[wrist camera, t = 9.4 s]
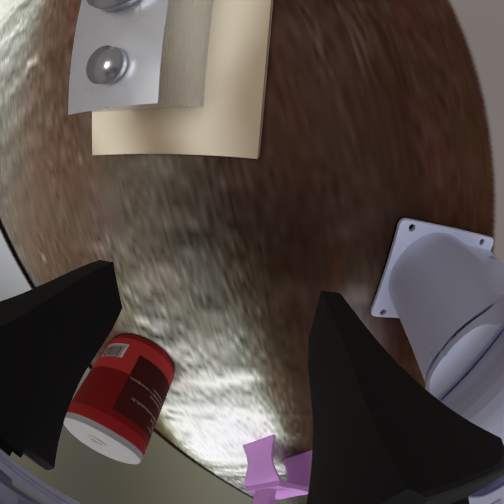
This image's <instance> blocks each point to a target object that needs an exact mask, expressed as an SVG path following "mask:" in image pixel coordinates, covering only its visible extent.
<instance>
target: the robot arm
mask: <svg viewBox="0 0 504 504" xmlns="http://www.w3.org/2000/svg"><path fill="white" fill-rule="evenodd" d="M411 224H413V227H412V228H411V229H409V226H410V225H411ZM481 239H482V240H481ZM480 240H481V242H480ZM492 246H493V238H491V237H490V236H487V235H483V234H479V233H474V232H470V231H466V230H462V229H457V228H453V227H448V226H444V225H439V224H434V223H429V222H425V221H420V220H415V219H409V218H402V219H400V220H399V222H398V224H397V228H396V232H395V236H394V239H393V243H392V246H391V250H390V253H389V256H388V260H387V263H386V266H385V269H384V272H383V275H382V278H381V281H380V284H379V287H378V290H377V293H376V296H375V299H374V301H373V304H372V307H371V314H372V315H373V316H375V317H390V318H399V319H400V321H401V323H402V326H403V328H404V330H405V333H406V335H407V337H408V340H409V342H410V345H411V347H412V349H413V352H414V354H415V357H416V360H417V362H418V365H419V367H420V370H421V373H422V376H423V378H424V381H425V384H426V387H425V389H424V388H423V387H422V386H421V385H420V384H419V383H418V382H416V381H415V380H414V379H413V378H412V377H411V376H410V375H409V374H408V373H407V372H406V371H405V370H404V369H403V368H402V367H401V366H400V365H399V364H398V363H397V362H396V361H395V360H394V359H393V358H392V357H391V356H390V355H389V354H388V352H387V351H386V350H385V349H384V348H383V347H382V346H381V345H380V343H379V342H378V341H377V340H376V339H375V338H374V336H373V335H372V334H371V333H370V331H369V330H368V329H367V328H366V326H365V325H364V324H363V323H362V321H361V320H360V319H359V317H358V316H357V315H356V313H355V312H354V311H353V310H352V308H351V307H350V306H349V304H348V303H347V302H346V300H345V299H344V298H343V296H342V295H341V294H340V293H336V292H326V291H321V294H320V298H319V302H318V306H317V310H316V314H315V317H314V321H313V325H312V328H311V332H310V336H309V352H308V367H309V378H310V389H311V400H312V413H313V449H312V463H311V473H310V483H309V491H308V498H307V504H504V263H503V262H502V261H501V260H500V259H499V258H498V257H496V256H495V255H494V254H493V253H492V252H491V248H492ZM121 309H122V305H121V300H120V296H119V291H118V286H117V281H116V276H115V271H114V265H113V262H108V261H102V260H99V261H96V262H93V263H90V264H87V265H85V266H82V267H80V268H78V269H76V270H73V271H71V272H69V273H67V274H65V275H63V276H60V277H58V278H56V279H54V280H52V281H50V282H47V283H45V284H43V285H41V286H38V287H36V288H34V289H32V290H30V291H27V292H25V293H23V294H20V295H17V296H15V297H12V298H9V299H6V300H4V301H1V302H0V504H42V503H41V502H39V501H38V500H36V499H34V498H33V497H31V496H29V495H28V494H26V493H25V492H23V491H21V490H20V489H18V488H17V487H15V486H14V485H13V484H12V480H13V481H15V482H16V483H17V484H18V485H20V486H21V487H22V488H24V489H25V490H26V491H28V492H29V493H30V494H32V495H33V496H35V497H36V498H37V499H39V500H40V501H42V502H43V503H45V504H81V503H79V502H77V501H75V500H73V499H72V498H70V497H68V496H66V495H65V494H63V493H61V492H59V491H58V490H56V489H55V488H53V487H51V486H50V485H48V484H47V483H45V482H44V481H42V480H41V479H39V478H38V477H36V476H35V475H33V474H32V473H31V472H29V471H28V470H27V469H25V468H24V467H23V466H21V465H20V464H18V463H17V462H16V461H15V460H14V459H12V458H11V457H10V454H11V452H14V453H15V454H16V455H18V456H19V457H22V455H23V454H24V455H25V456H27V457H28V458H29V459H31V460H32V461H34V462H35V463H37V464H38V465H40V466H41V467H43V468H44V469H46V470H50V469H53V468H54V465H55V458H56V452H57V447H58V441H59V437H60V433H61V430H62V426H63V423H64V419H65V417H66V414H67V411H68V408H69V405H70V403H71V400H72V398H73V395H74V393H75V390H76V388H77V386H78V384H79V382H80V380H81V378H82V376H83V374H84V372H85V371H86V369H87V368H88V366H89V365H90V363H91V361H92V360H93V358H94V357H95V355H96V354H97V352H98V350H99V349H100V347H101V346H102V344H103V343H104V341H105V340H106V338H107V337H108V335H109V333H110V332H111V330H112V328H113V326H114V324H115V322H116V320H117V318H118V316H119V314H120V312H121ZM382 310H384V311H383V312H381V311H382Z"/></svg>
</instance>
